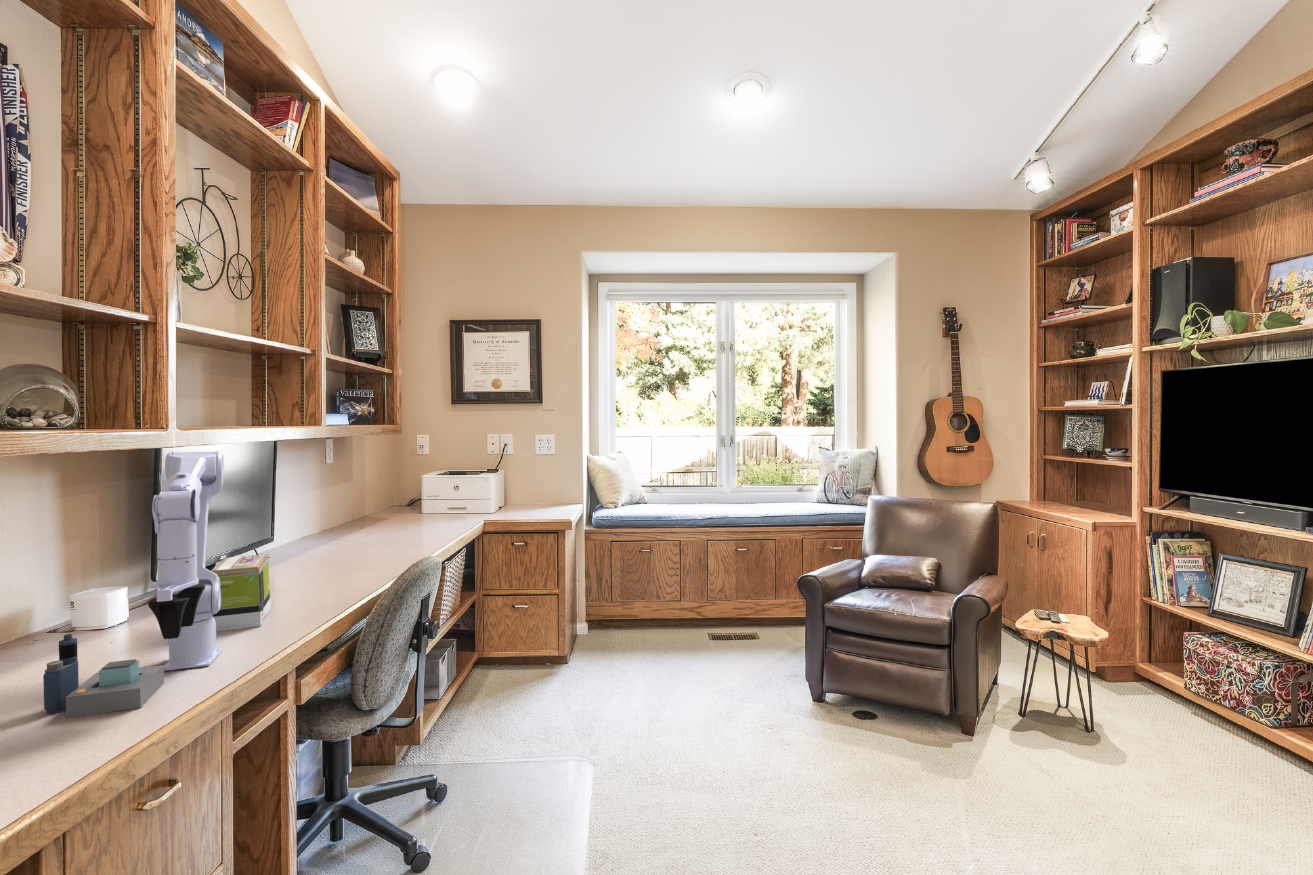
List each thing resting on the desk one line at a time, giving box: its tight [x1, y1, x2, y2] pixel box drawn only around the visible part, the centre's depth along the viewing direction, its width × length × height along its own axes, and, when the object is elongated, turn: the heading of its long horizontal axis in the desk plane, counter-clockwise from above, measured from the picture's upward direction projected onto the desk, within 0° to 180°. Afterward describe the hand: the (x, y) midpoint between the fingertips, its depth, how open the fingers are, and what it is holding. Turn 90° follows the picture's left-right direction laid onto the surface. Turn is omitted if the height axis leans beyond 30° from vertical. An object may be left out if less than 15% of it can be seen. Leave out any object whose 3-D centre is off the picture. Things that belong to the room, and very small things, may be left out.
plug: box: [98, 658, 140, 687], centre depth 112 cm, size 4×4×6 cm
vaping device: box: [42, 633, 80, 715], centre depth 109 cm, size 3×5×12 cm, turn 2°
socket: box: [65, 664, 165, 719], centre depth 112 cm, size 11×10×4 cm
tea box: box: [210, 553, 272, 633], centre depth 156 cm, size 15×10×15 cm, turn 23°
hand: (178, 632), depth 116 cm, fingers open, 7 cm apart
